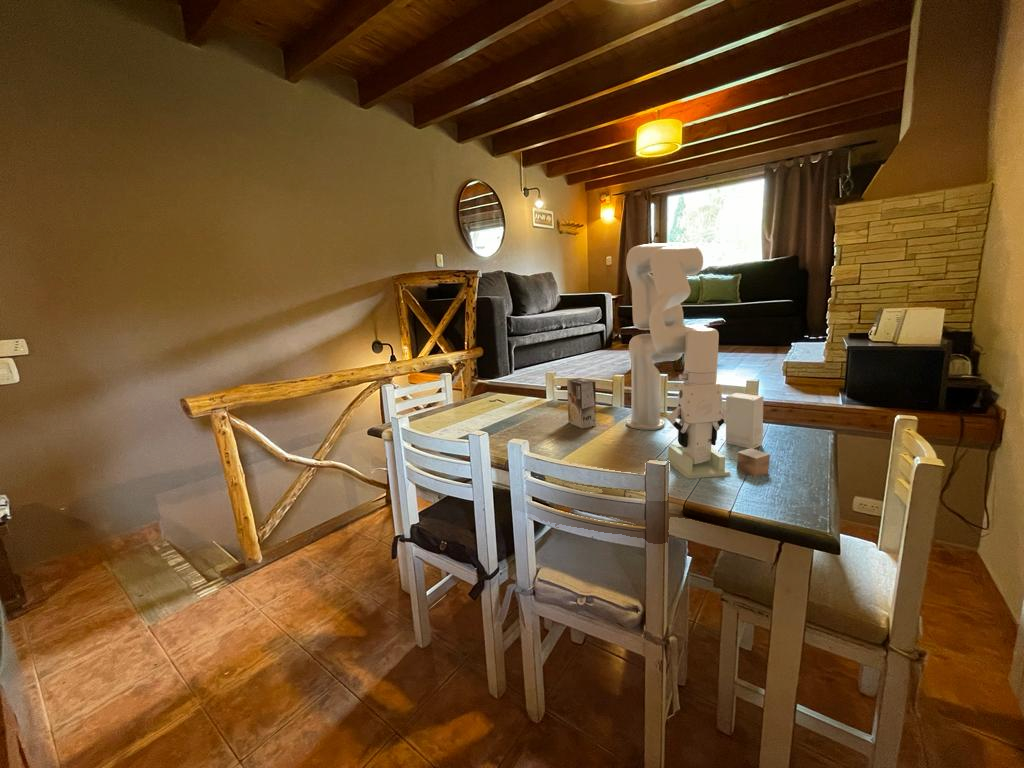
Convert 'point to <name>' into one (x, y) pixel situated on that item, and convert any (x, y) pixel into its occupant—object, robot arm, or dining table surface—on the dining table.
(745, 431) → the skincare box
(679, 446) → the u rest
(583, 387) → the coffee box
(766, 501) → the dining table surface
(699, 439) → the skincare box
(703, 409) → the robot arm
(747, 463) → the walnut block
